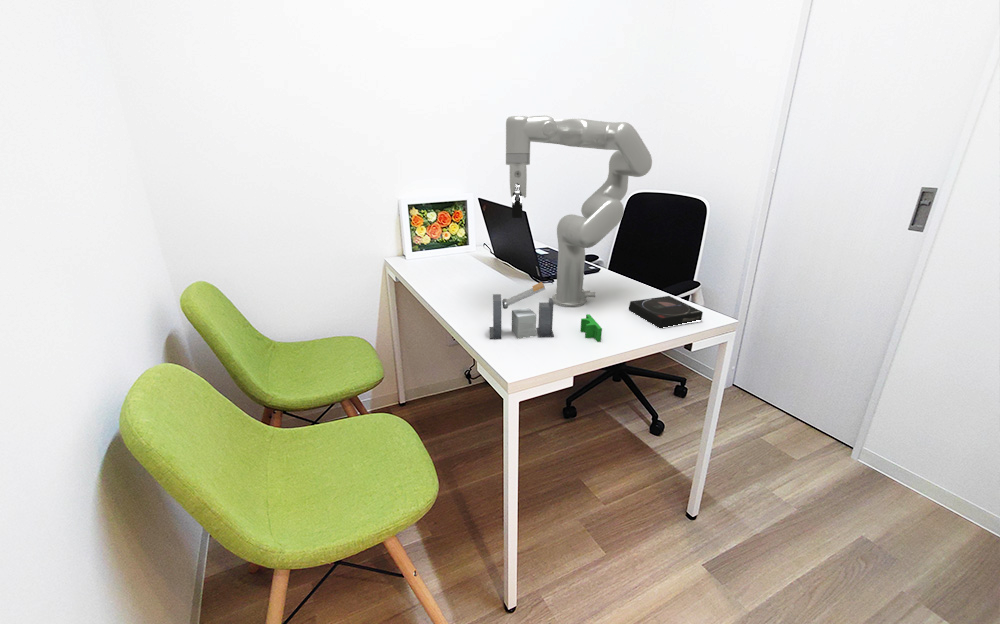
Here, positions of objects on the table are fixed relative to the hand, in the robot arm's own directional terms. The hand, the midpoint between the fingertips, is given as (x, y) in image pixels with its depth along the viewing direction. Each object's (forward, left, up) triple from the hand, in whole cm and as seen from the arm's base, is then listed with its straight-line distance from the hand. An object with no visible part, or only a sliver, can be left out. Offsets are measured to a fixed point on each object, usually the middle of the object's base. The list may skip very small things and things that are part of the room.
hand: (517, 215), depth 144 cm
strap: (-1, +20, -21) cm, 29 cm away
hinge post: (+7, +20, -33) cm, 39 cm away
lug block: (-8, +20, -33) cm, 39 cm away
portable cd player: (-50, +7, -34) cm, 61 cm away
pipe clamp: (-22, +21, -34) cm, 45 cm away
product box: (-1, +20, -34) cm, 39 cm away
